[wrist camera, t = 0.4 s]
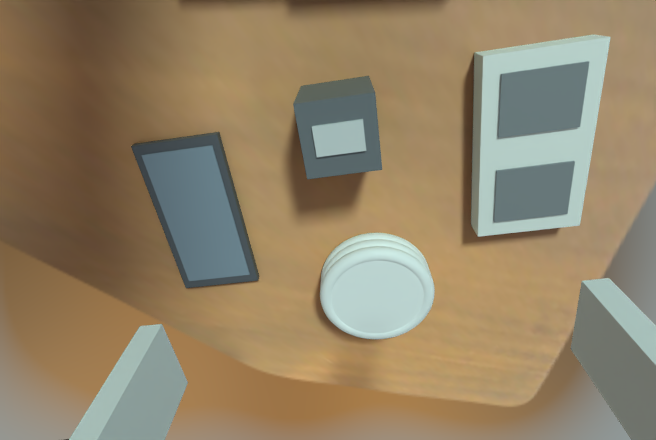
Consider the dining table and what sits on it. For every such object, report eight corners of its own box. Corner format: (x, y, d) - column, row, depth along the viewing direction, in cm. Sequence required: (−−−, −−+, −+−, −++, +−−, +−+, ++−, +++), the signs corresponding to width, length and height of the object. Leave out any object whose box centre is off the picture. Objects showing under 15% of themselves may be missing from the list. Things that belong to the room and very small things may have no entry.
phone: (137, 141, 33) (130, 146, 32) (221, 129, 33) (216, 134, 31) (190, 280, 40) (185, 288, 39) (260, 272, 39) (257, 281, 38)
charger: (301, 85, 30) (292, 104, 25) (368, 75, 30) (375, 92, 24) (312, 150, 33) (307, 180, 27) (375, 141, 32) (382, 170, 27)
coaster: (447, 251, 37) (457, 274, 34) (398, 328, 42) (403, 354, 38) (345, 214, 35) (346, 235, 32) (306, 298, 40) (303, 323, 37)
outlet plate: (474, 52, 29) (484, 56, 27) (593, 34, 28) (612, 37, 26) (470, 224, 35) (478, 237, 33) (567, 213, 35) (581, 226, 33)
